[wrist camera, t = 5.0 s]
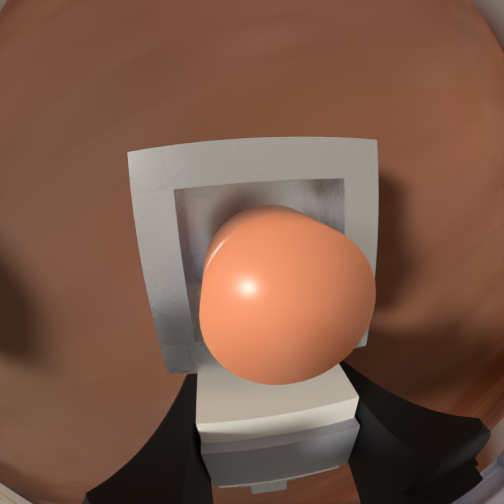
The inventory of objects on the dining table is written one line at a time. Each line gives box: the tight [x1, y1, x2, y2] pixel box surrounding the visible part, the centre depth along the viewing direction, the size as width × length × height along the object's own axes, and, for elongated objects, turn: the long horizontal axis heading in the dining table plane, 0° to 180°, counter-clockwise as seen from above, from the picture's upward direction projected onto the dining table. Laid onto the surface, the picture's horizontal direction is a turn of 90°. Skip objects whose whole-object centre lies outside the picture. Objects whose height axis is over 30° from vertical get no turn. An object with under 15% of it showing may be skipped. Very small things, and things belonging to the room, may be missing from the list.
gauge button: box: [199, 205, 376, 385], centre depth 6 cm, size 3×3×2 cm
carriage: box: [196, 364, 360, 488], centre depth 10 cm, size 4×5×6 cm
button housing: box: [128, 137, 379, 374], centre depth 9 cm, size 6×6×4 cm
